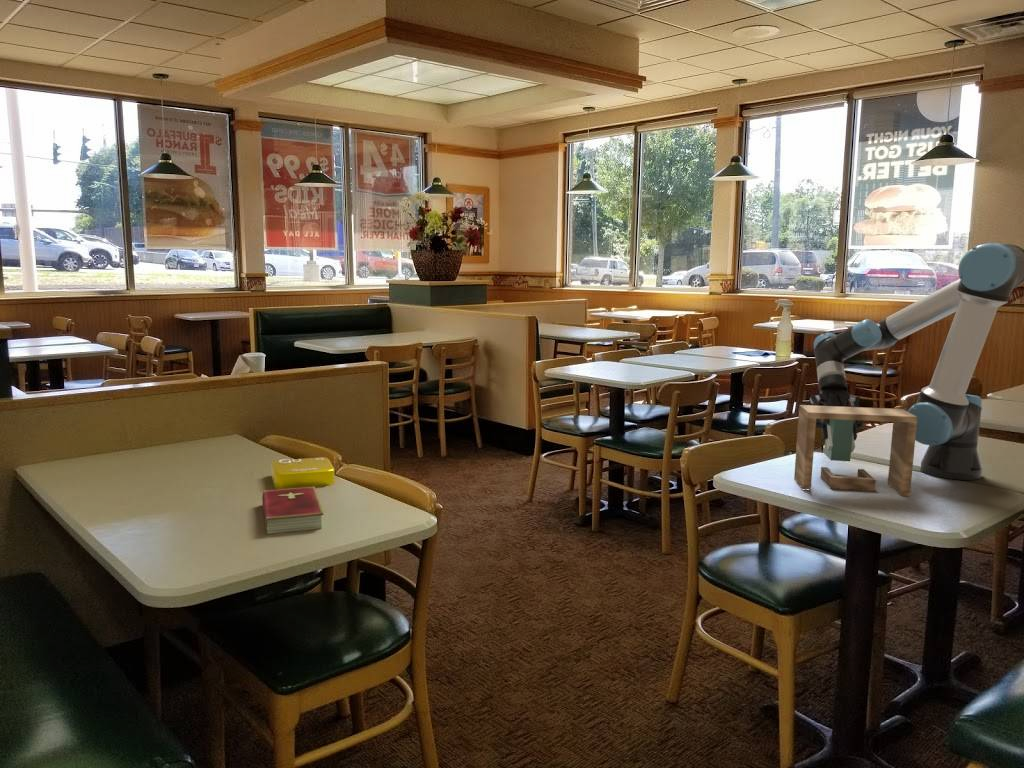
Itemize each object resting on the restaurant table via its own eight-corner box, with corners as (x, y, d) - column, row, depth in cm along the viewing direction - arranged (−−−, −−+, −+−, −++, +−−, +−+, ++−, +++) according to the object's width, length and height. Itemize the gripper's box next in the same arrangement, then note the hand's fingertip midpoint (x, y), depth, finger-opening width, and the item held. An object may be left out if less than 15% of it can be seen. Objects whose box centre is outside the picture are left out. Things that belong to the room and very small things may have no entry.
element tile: (275, 491, 193) (274, 472, 193) (270, 476, 207) (270, 458, 206) (335, 486, 199) (335, 468, 198) (327, 471, 213) (327, 454, 212)
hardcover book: (265, 536, 161) (264, 517, 161) (262, 506, 181) (261, 489, 180) (323, 530, 165) (323, 512, 165) (315, 502, 185) (314, 485, 184)
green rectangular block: (842, 454, 218) (846, 412, 216) (850, 461, 210) (853, 418, 208) (824, 453, 219) (827, 411, 217) (830, 460, 211) (834, 417, 209)
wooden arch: (892, 481, 209) (898, 407, 206) (909, 496, 195) (917, 416, 192) (792, 476, 213) (797, 403, 210) (802, 490, 199) (808, 412, 196)
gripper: (861, 389, 225) (872, 457, 212) (796, 386, 228) (804, 454, 215) (868, 373, 219) (880, 443, 206) (801, 371, 222) (809, 439, 209)
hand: (841, 448), depth 210 cm, fingers closed on green rectangular block, 5 cm apart
